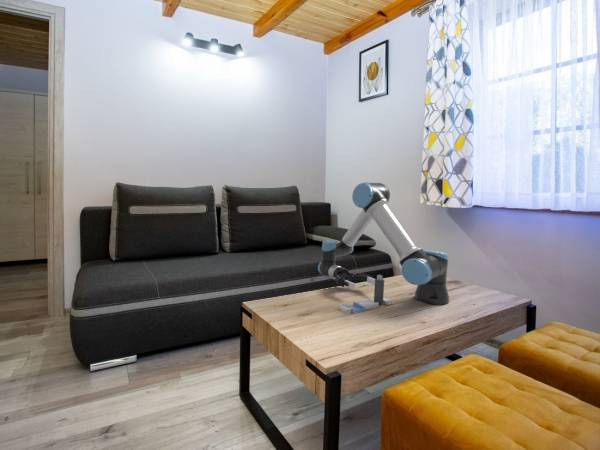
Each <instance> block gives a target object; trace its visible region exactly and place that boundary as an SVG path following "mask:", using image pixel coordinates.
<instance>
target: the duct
mask: <svg viewBox="0 0 600 450" xmlns="http://www.w3.org/2000/svg"><path fill="white" fill-rule="evenodd" d="M384 304H385V305H386V306H389V305H393V299H388V298H386V297H385V296H384V295H383V305H384ZM375 308H379V306H378V302H376V303H375V302H374V300H371V298H366V299H365V298H364V299H359V300H355V301H353V302H352V305H347V304H345V303H339V304H338V309H339V310H340V311H341V312H343V313H345V314H354V313H357V312H360V311H363V312H364V311H366V310H367V311H368V310H371V309H375Z"/></svg>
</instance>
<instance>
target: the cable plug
mask: <svg viewBox="0 0 600 450" xmlns="http://www.w3.org/2000/svg"><path fill="white" fill-rule="evenodd" d="M374 279H375V285H374V289H373V290H374V295H373V302H375V303H376V302H378V307H379V306H383V305H384V303H383V296H384V295H385V294H384V293H385V292H384V290H385V288H384V287H385V279H383V274H382V275H381V274H377V275H376V278H374Z"/></svg>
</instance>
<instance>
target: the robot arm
mask: <svg viewBox="0 0 600 450" xmlns="http://www.w3.org/2000/svg"><path fill="white" fill-rule="evenodd" d="M351 197H352V203H353V204H354V206H356V207H357V208H360V209H362V210H361V211H360V213H359V214H358V215H357V217H356V218H355V220H354V221H353V223H352V224H351V225H350V227H349V228H348V230H347V231H346V233H345V234H344V235H343V237H342V238H341V239H340V241H339V242H336V241H335V240H330V239H329V240H328V239H326V240H323V241H322V244H321V261H320V262H319V264H318V265H317V270H318V273H319V274H321V275H322V276H324V277H327V278H330V279H331V280H333V281H335V283H336V285H337V286H341V287H342V288H344V287H347V288H349V289H351V290H355V282H356V281H360V282H361V281H362V282H366V283H368V284H371V285H373V286H375V279H376V278H373V277H372V275H371V274H366V273H359V272H356V271H355V272H353V273H352V272H349V271H348V269H347V268H346V267H344V266H343V267H342V266H340V265H337V264H336V262H337V261H336V259H337V258H338V257H341V256H349V254H350V255H351V254H352V253H353V252H354V246H355V244H356V243H357V242H358V240H359V239H360V238H361V237H362V235H363V234H364V232H365V231H366V230H367V228H368V227H369V226H370V225H371V223H372V221H374V222H375V223H376V225H377V226H378V227H379V229H380V230H381V232H382V234H383V235H384V236H385V238H386V239H387V241H388V242H389V243H390V245H391V246H392V248H393V249H394V251H395V253H396V254H397V255H398V258H399V260H398V263H399V264H400V266H401V275H402V277H403V278H404V281H406V282H408V283H409V284H412V285H414V286H417V287H416V289H415V292H414V299H415V300H417V301H419V302H421V303H424V304H430V305H439V306H440V305H447V304H448V303H449V302H450V296H449V292H448V288H447V280H448V279H447V276H448V265H449V255H448V253H447V252H443V251H437V250H430V249H429V250H428V249H423V248H422V247H417V246H416V244H415V243H414V242H413V240H412V238H411V237H410V236H409V235H408V233H407V231H405V229H404V227H403V226H402V225H401V223H400V221H399V220H398V219H397V218H396V216H395V215H394V213H393V212H392V211H391V209H390V208H389V207H388V203H389V201H390V198H391V192H390V190H389V188H388V186H387V185H386V184H383V183H381V182H366V181H365V182H361V183H359V184H357V185H356V186H355V187H354V189H353V191H352V196H351ZM352 281H353V282H352Z"/></svg>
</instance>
